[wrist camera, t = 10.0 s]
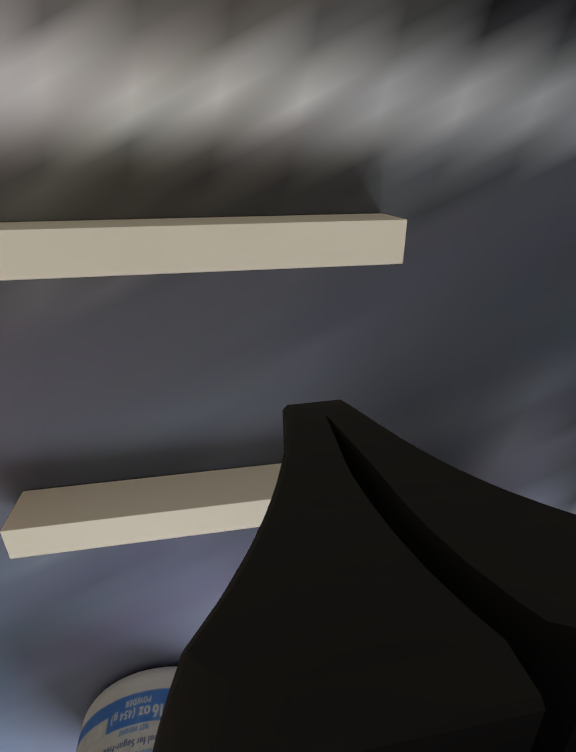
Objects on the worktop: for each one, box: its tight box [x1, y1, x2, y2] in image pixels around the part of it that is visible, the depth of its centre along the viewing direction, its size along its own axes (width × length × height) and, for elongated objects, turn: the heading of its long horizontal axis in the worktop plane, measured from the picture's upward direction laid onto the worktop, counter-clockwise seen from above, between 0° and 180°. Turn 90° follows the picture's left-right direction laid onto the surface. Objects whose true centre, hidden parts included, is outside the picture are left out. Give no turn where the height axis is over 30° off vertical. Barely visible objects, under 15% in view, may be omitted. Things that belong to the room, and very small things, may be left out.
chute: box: [0, 213, 407, 559], centre depth 18 cm, size 16×13×2 cm
